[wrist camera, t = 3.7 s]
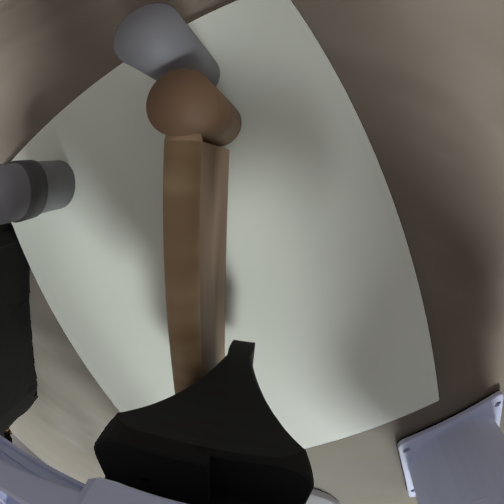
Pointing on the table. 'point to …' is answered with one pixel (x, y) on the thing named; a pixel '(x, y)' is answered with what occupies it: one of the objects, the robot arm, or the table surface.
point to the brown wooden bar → (194, 216)
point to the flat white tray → (231, 226)
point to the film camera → (14, 333)
